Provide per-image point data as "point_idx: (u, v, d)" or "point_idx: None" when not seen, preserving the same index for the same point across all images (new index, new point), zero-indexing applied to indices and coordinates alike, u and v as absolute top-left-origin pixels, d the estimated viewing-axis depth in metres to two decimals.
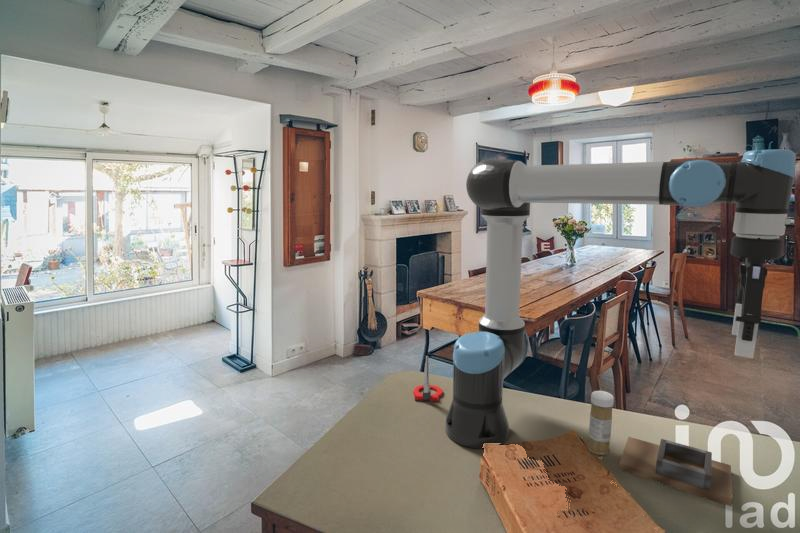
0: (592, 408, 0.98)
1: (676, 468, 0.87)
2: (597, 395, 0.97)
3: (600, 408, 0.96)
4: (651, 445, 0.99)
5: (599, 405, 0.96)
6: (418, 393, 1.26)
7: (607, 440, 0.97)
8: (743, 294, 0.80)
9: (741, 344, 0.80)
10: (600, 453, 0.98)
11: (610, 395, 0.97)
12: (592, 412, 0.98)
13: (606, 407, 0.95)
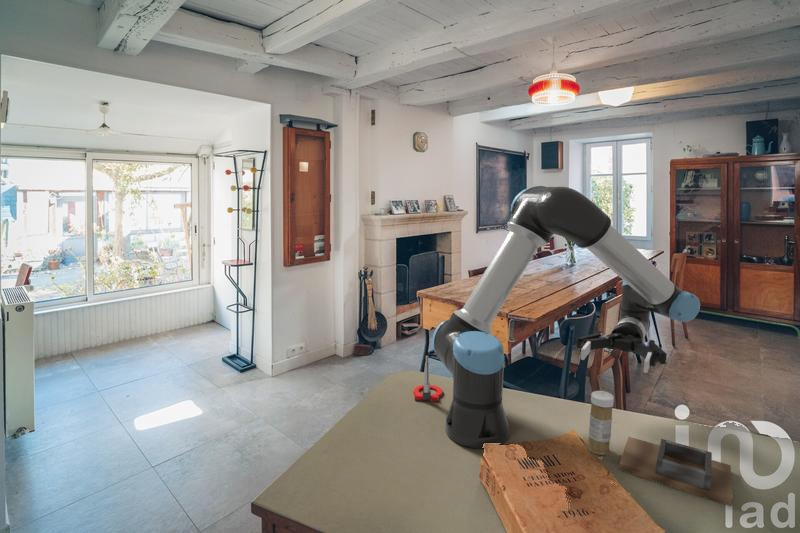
0: (592, 408, 0.98)
1: (676, 468, 0.87)
2: (597, 395, 0.97)
3: (600, 408, 0.96)
4: (651, 445, 0.99)
5: (599, 405, 0.96)
6: (418, 393, 1.26)
7: (607, 440, 0.97)
8: (645, 345, 1.10)
9: (649, 361, 1.02)
10: (600, 453, 0.98)
11: (610, 395, 0.97)
12: (592, 412, 0.98)
13: (606, 407, 0.95)
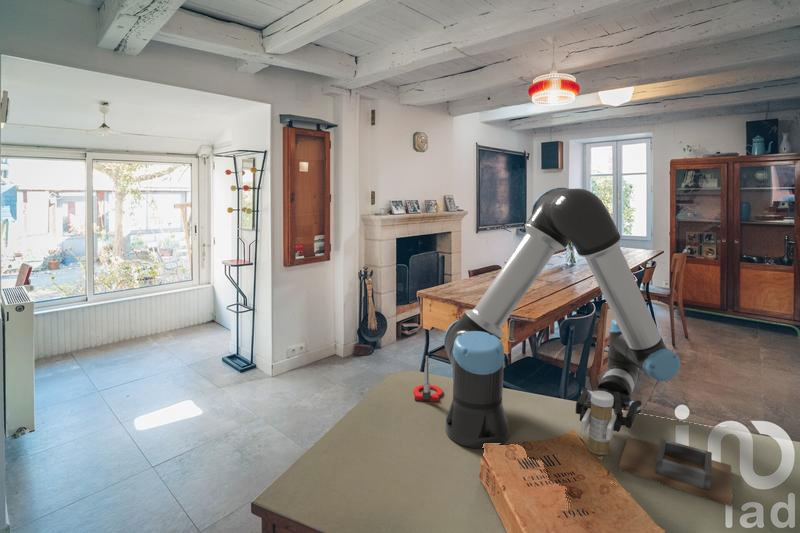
0: (592, 408, 0.98)
1: (676, 468, 0.87)
2: (597, 395, 0.97)
3: (600, 408, 0.96)
4: (651, 445, 0.99)
5: (599, 405, 0.96)
6: (418, 393, 1.26)
7: (607, 440, 0.97)
8: (621, 406, 1.01)
9: (612, 426, 0.94)
10: (600, 453, 0.98)
11: (610, 395, 0.97)
12: (592, 412, 0.98)
13: (606, 407, 0.95)
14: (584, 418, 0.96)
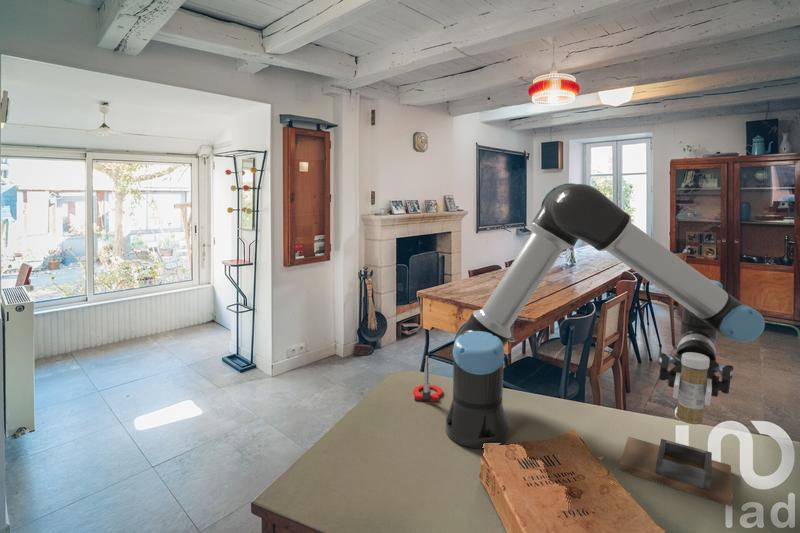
0: (683, 371, 0.87)
1: (676, 468, 0.87)
2: (690, 356, 0.86)
3: (694, 370, 0.85)
4: (651, 445, 0.99)
5: (693, 367, 0.85)
6: (418, 393, 1.26)
7: (701, 407, 0.86)
8: (712, 370, 0.90)
9: None
10: (693, 422, 0.86)
11: (705, 356, 0.86)
12: (683, 376, 0.87)
13: (702, 369, 0.84)
14: (676, 382, 0.85)
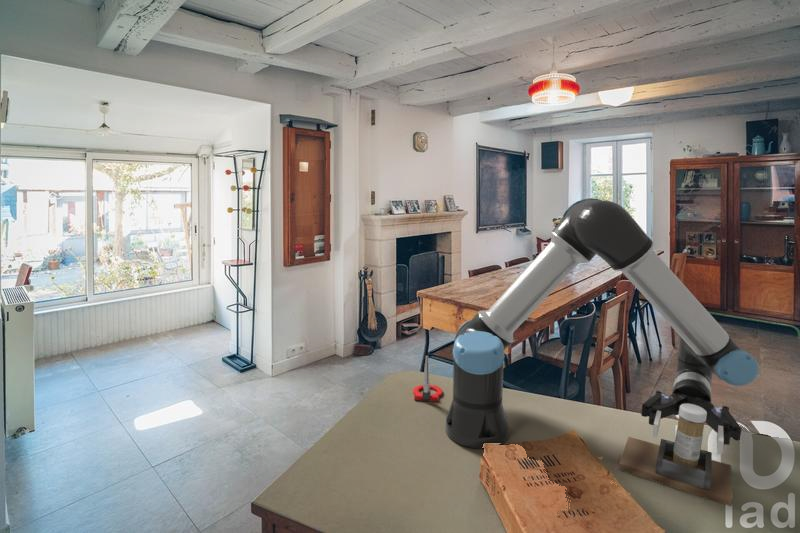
0: (681, 423, 0.88)
1: (676, 468, 0.87)
2: (687, 408, 0.88)
3: (691, 423, 0.87)
4: (651, 445, 0.99)
5: (691, 420, 0.86)
6: (418, 393, 1.26)
7: (696, 459, 0.88)
8: (715, 414, 0.92)
9: None
10: None
11: (702, 409, 0.88)
12: (680, 427, 0.88)
13: (699, 422, 0.86)
14: (656, 421, 0.89)
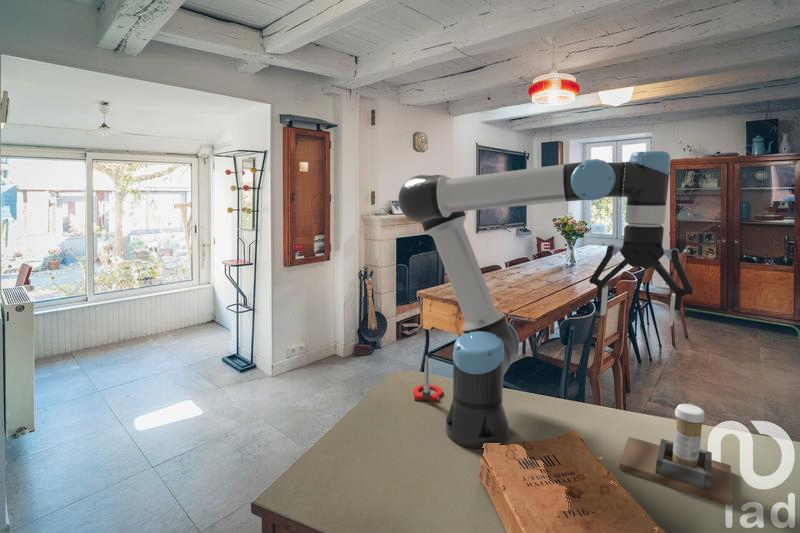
0: (679, 423, 0.88)
1: (676, 468, 0.87)
2: (685, 409, 0.88)
3: (689, 423, 0.87)
4: (651, 445, 0.99)
5: (688, 420, 0.86)
6: (418, 393, 1.26)
7: (696, 459, 0.88)
8: (667, 274, 0.94)
9: (673, 314, 0.95)
10: None
11: (699, 409, 0.88)
12: (679, 428, 0.88)
13: (696, 422, 0.86)
14: (602, 310, 1.03)
